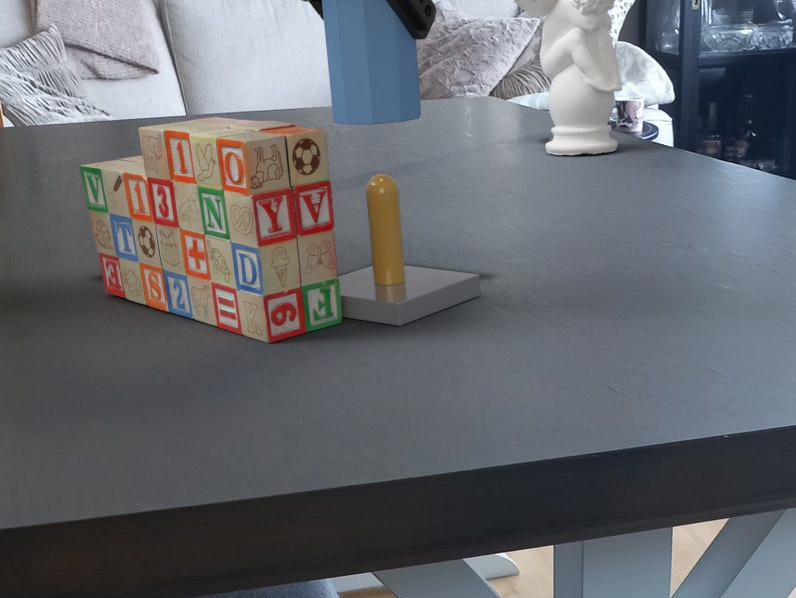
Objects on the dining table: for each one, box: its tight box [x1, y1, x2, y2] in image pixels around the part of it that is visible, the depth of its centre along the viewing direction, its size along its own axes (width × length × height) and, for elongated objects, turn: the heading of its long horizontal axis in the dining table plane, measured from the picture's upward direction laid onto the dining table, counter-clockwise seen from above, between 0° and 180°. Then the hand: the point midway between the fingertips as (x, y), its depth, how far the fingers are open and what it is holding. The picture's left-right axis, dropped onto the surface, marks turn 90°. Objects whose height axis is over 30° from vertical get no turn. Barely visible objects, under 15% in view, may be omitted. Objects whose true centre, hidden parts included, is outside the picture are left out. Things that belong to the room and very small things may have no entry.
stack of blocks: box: [79, 116, 343, 344], centre depth 83 cm, size 21×6×12 cm, turn 44°
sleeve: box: [322, 0, 422, 126], centre depth 77 cm, size 6×6×9 cm
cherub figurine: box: [513, 0, 623, 156], centre depth 140 cm, size 12×12×22 cm
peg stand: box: [337, 173, 481, 327], centre depth 83 cm, size 9×9×9 cm
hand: (388, 28), depth 78 cm, fingers closed on sleeve, 5 cm apart
